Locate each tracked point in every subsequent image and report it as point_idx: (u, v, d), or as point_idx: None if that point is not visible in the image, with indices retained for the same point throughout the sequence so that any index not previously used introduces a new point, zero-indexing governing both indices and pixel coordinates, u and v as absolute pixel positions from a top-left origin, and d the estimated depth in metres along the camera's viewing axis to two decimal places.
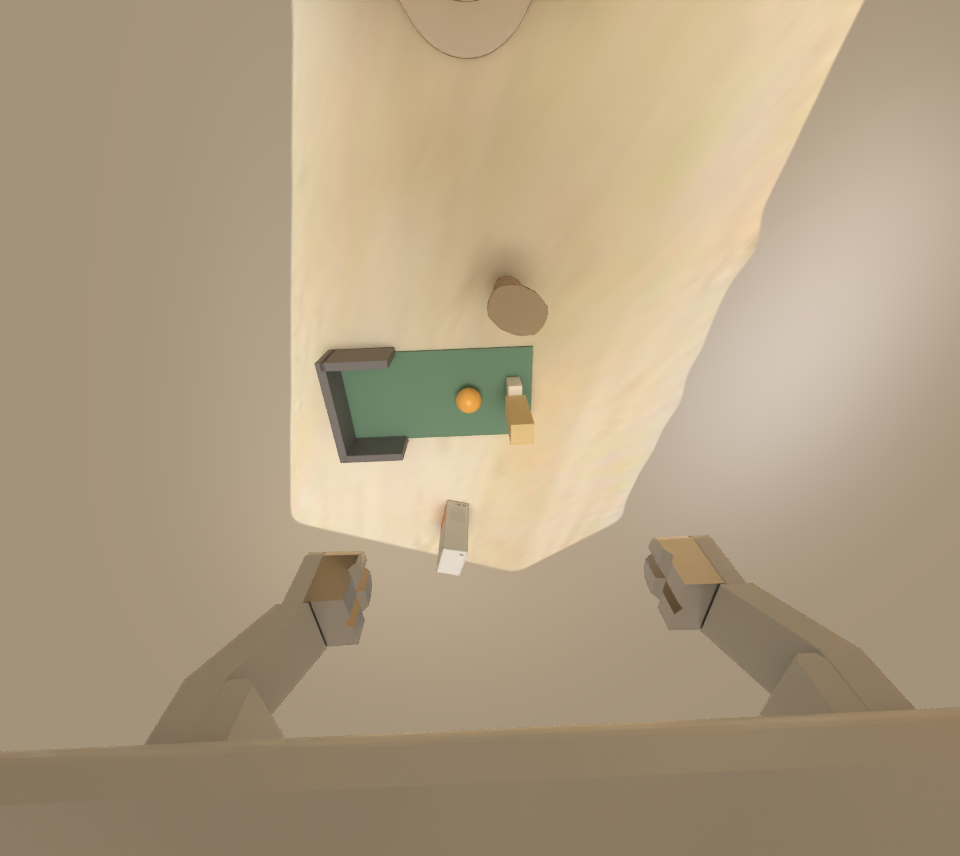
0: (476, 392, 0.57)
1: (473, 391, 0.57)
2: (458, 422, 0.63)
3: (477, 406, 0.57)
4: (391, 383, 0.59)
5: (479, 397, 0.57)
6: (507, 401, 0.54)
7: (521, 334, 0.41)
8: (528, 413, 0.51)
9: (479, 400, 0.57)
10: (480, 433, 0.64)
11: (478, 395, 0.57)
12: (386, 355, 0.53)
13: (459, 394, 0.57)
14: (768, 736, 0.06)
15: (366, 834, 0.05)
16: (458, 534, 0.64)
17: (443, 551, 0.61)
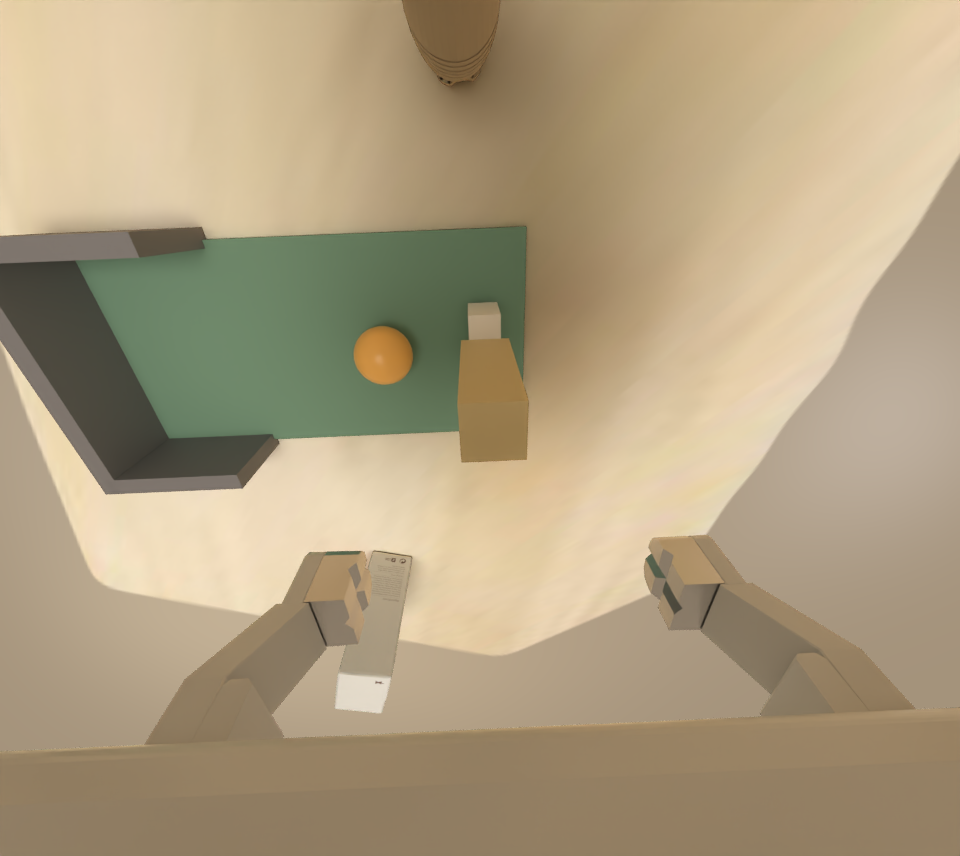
0: (397, 335, 0.25)
1: (390, 333, 0.25)
2: (374, 407, 0.30)
3: (400, 367, 0.25)
4: (213, 318, 0.26)
5: (405, 347, 0.25)
6: (463, 350, 0.22)
7: None
8: (512, 373, 0.18)
9: (404, 354, 0.25)
10: (422, 429, 0.31)
11: (402, 342, 0.25)
12: None
13: (358, 340, 0.25)
14: (768, 736, 0.06)
15: (366, 834, 0.05)
16: (378, 630, 0.32)
17: (339, 677, 0.29)
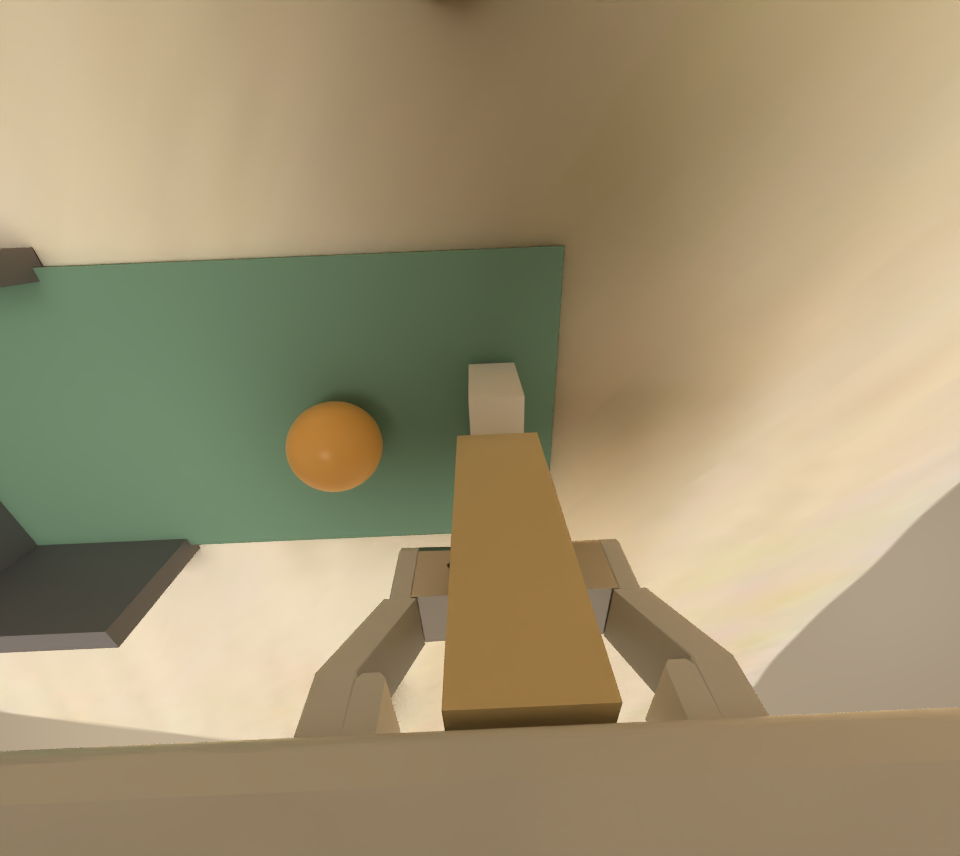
0: (355, 419, 0.16)
1: (342, 417, 0.15)
2: (331, 504, 0.21)
3: (359, 471, 0.16)
4: (73, 386, 0.17)
5: (367, 438, 0.16)
6: (460, 466, 0.12)
7: None
8: (561, 556, 0.09)
9: (366, 449, 0.16)
10: (402, 531, 0.22)
11: (363, 431, 0.16)
12: None
13: (292, 427, 0.15)
14: (768, 736, 0.06)
15: (366, 834, 0.05)
16: None
17: None
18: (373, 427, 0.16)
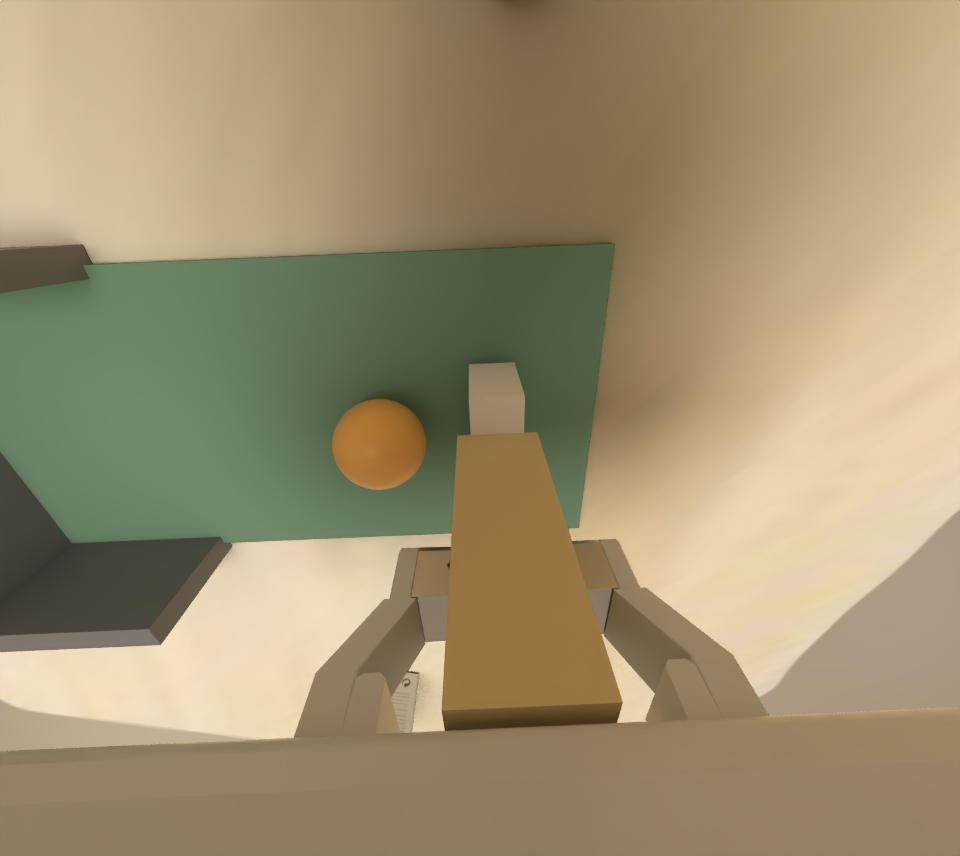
0: (403, 417, 0.16)
1: (390, 415, 0.15)
2: (367, 503, 0.21)
3: (406, 469, 0.16)
4: (116, 384, 0.17)
5: (414, 435, 0.16)
6: (460, 466, 0.12)
7: None
8: (561, 557, 0.09)
9: (414, 447, 0.16)
10: (435, 529, 0.22)
11: (410, 428, 0.16)
12: None
13: (339, 425, 0.15)
14: (769, 736, 0.06)
15: (366, 834, 0.05)
16: None
17: None
18: (418, 425, 0.16)
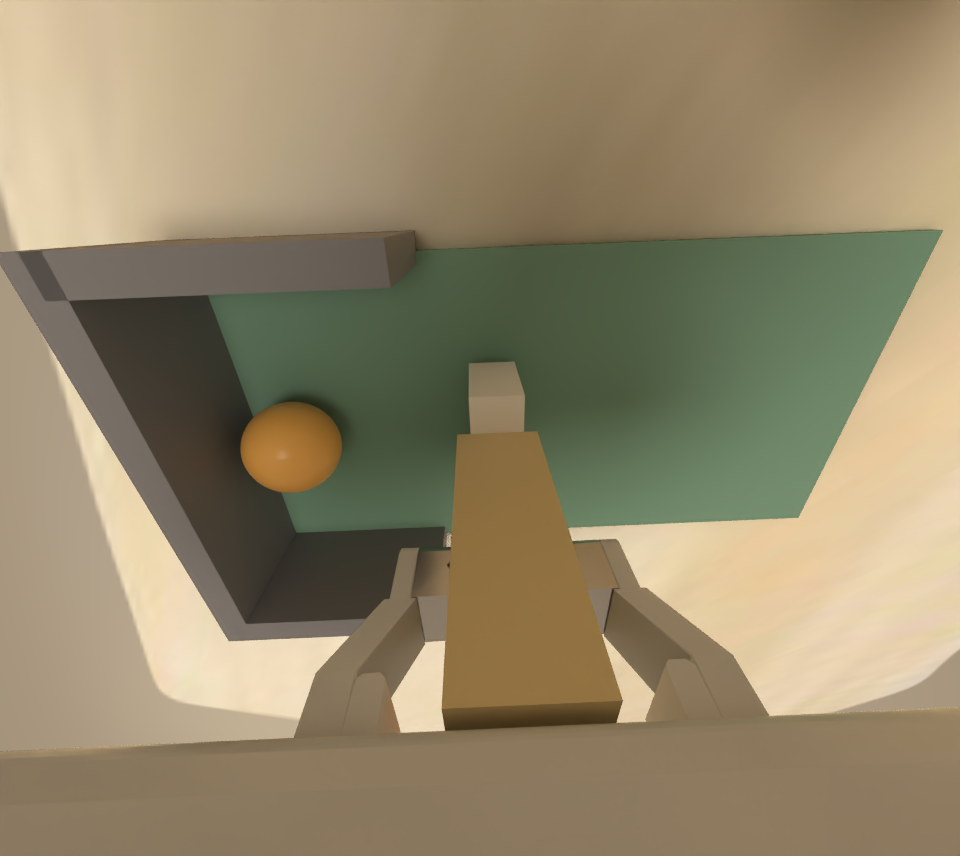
0: (252, 430, 0.15)
1: (255, 419, 0.15)
2: (600, 492, 0.21)
3: None
4: (401, 371, 0.17)
5: (243, 449, 0.15)
6: (460, 465, 0.12)
7: None
8: (561, 555, 0.09)
9: (241, 455, 0.15)
10: (657, 519, 0.22)
11: (245, 441, 0.15)
12: (385, 234, 0.11)
13: None
14: (768, 736, 0.06)
15: (366, 834, 0.05)
16: None
17: None
18: (253, 451, 0.15)
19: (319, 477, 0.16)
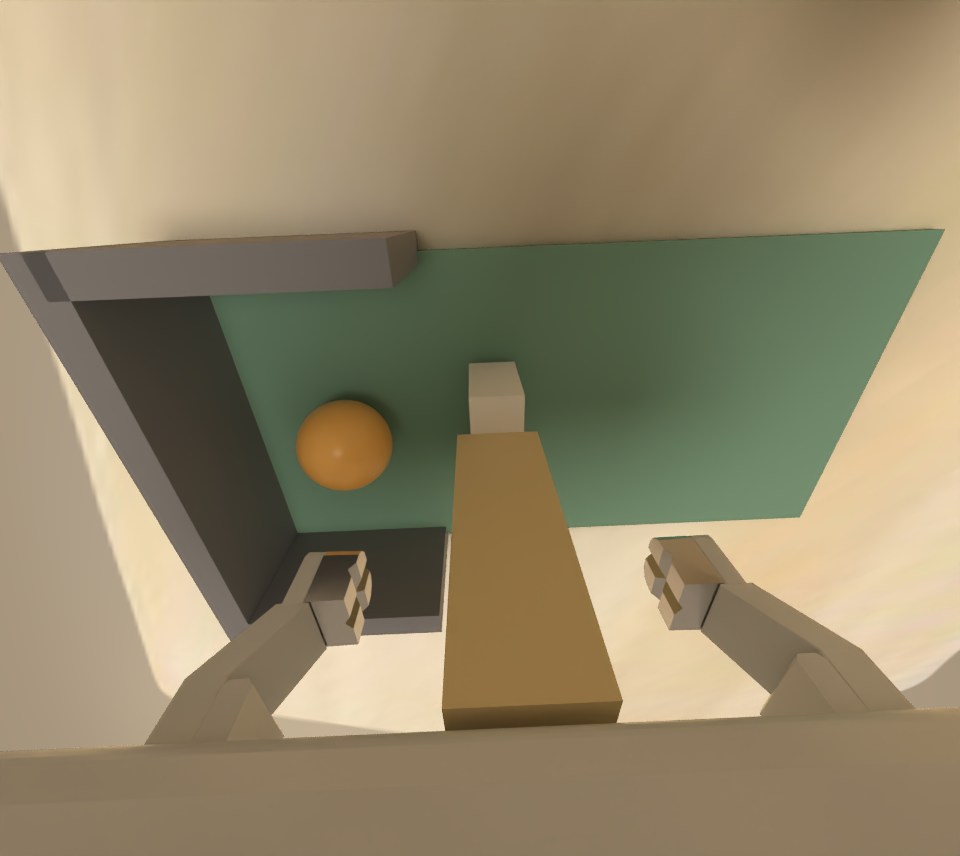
0: (340, 429, 0.15)
1: (329, 422, 0.15)
2: (602, 492, 0.21)
3: (326, 478, 0.15)
4: (403, 371, 0.17)
5: (341, 451, 0.15)
6: (460, 465, 0.12)
7: None
8: (561, 556, 0.09)
9: (335, 462, 0.15)
10: (658, 519, 0.22)
11: (339, 443, 0.15)
12: (387, 234, 0.11)
13: None
14: (768, 736, 0.06)
15: (366, 834, 0.05)
16: None
17: None
18: (358, 444, 0.15)
19: (390, 451, 0.17)
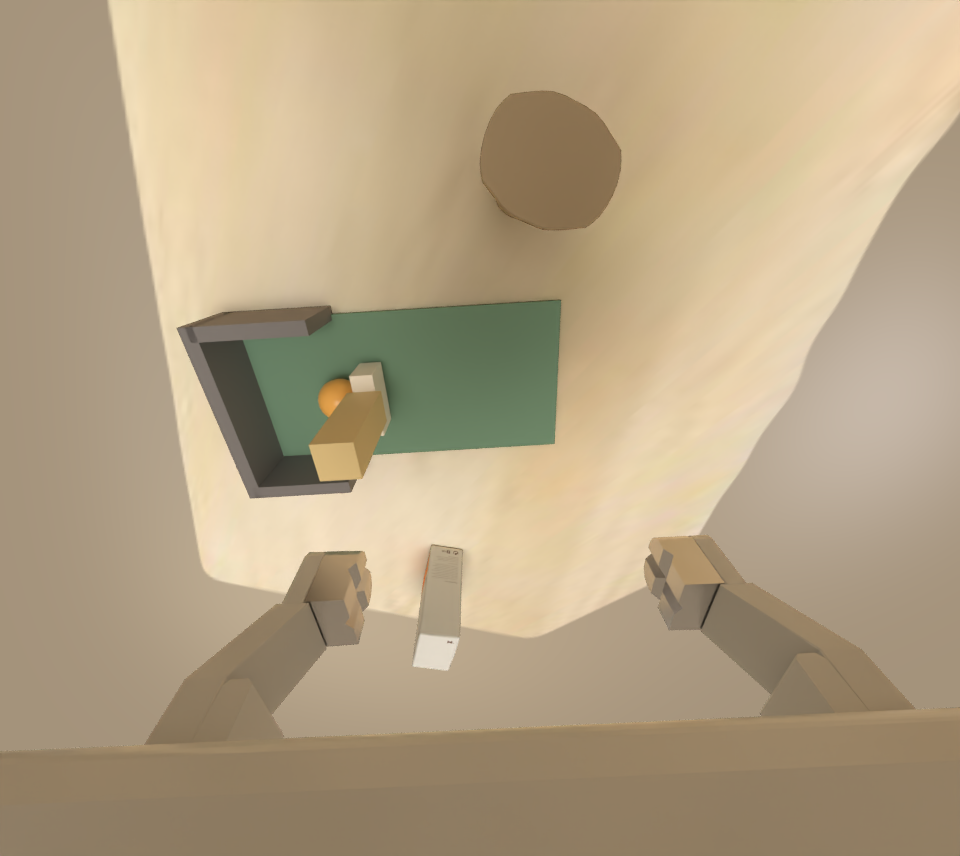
0: None
1: (348, 381, 0.35)
2: (442, 429, 0.40)
3: None
4: (330, 367, 0.36)
5: None
6: (342, 402, 0.31)
7: (558, 227, 0.18)
8: (359, 421, 0.28)
9: None
10: (477, 446, 0.41)
11: None
12: (310, 314, 0.31)
13: (327, 392, 0.34)
14: (768, 736, 0.06)
15: (366, 834, 0.05)
16: (445, 604, 0.41)
17: (420, 638, 0.38)
18: None
19: None
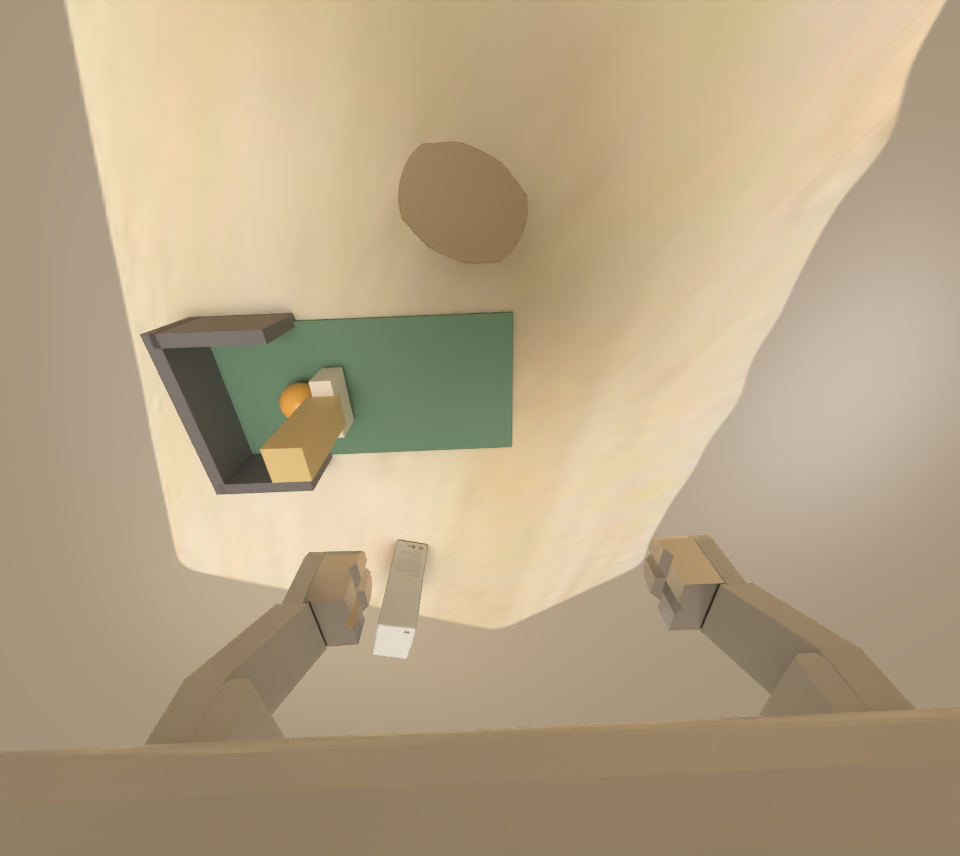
0: None
1: (308, 385, 0.37)
2: (403, 432, 0.42)
3: None
4: (294, 371, 0.38)
5: None
6: (300, 406, 0.33)
7: (474, 261, 0.20)
8: (312, 426, 0.30)
9: None
10: (438, 447, 0.43)
11: None
12: (270, 323, 0.32)
13: (286, 396, 0.36)
14: (768, 736, 0.06)
15: (366, 834, 0.05)
16: (405, 596, 0.43)
17: (378, 628, 0.40)
18: None
19: None
